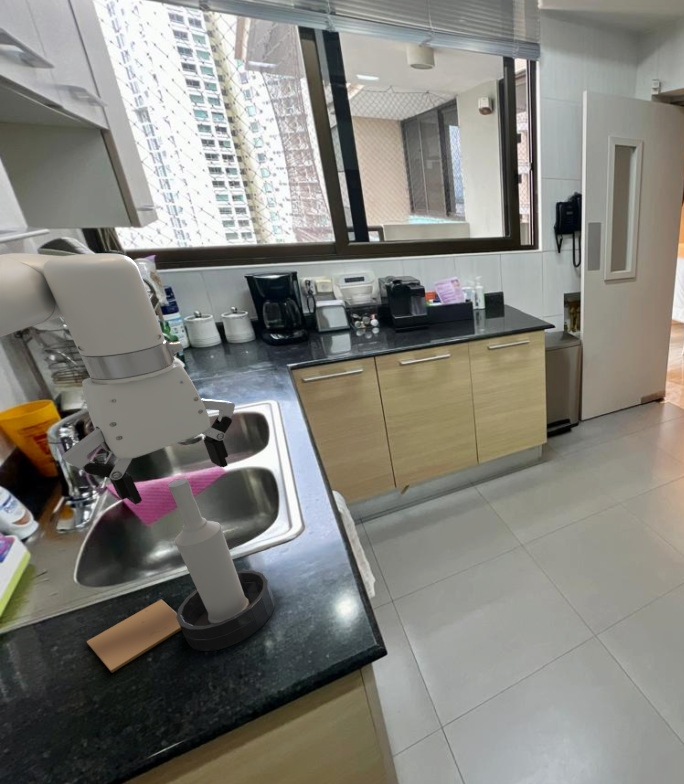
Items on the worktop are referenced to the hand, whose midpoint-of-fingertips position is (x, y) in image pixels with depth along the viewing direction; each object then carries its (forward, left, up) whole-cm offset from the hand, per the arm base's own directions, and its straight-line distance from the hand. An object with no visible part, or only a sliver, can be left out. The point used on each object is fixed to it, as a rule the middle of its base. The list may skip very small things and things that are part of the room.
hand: (179, 481), depth 63 cm
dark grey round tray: (0, 0, -26) cm, 26 cm away
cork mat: (-9, -9, -26) cm, 28 cm away
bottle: (0, 0, -25) cm, 25 cm away
